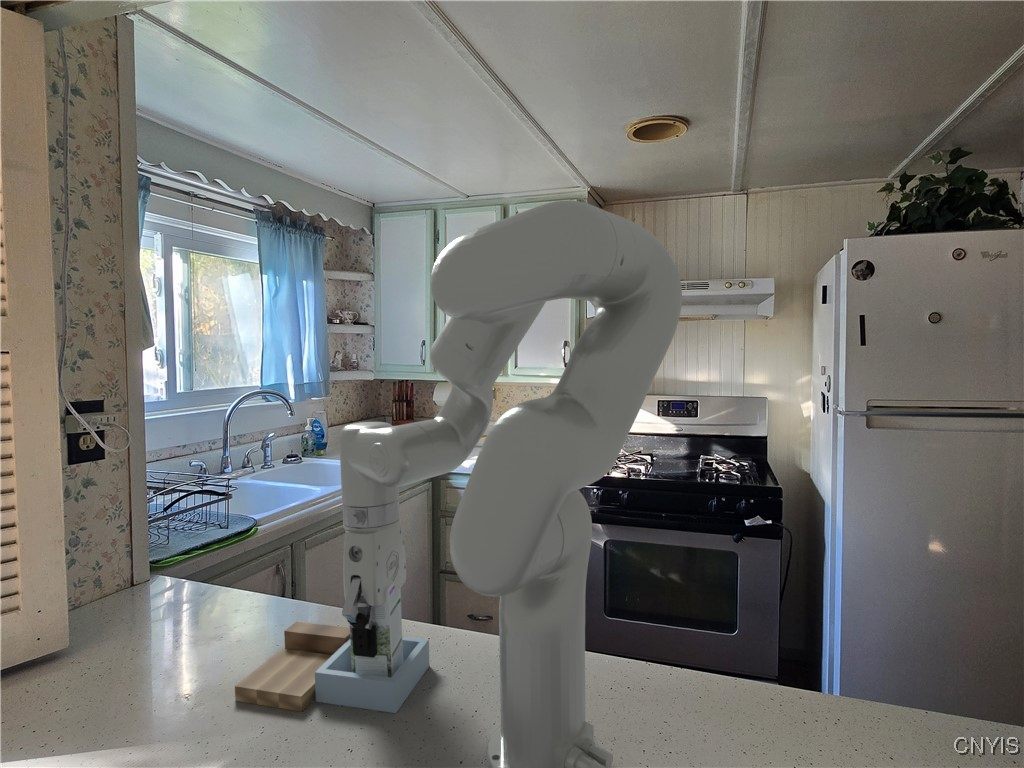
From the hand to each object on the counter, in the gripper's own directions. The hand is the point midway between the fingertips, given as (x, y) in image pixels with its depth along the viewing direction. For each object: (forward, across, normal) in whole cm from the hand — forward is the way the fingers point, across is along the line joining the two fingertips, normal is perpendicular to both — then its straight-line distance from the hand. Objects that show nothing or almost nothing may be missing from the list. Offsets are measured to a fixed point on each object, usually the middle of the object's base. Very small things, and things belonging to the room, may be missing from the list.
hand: (377, 641), depth 81 cm
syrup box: (+6, 0, 0) cm, 6 cm away
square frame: (+6, 0, +1) cm, 6 cm away
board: (+6, -3, +12) cm, 13 cm away
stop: (+6, +4, +12) cm, 14 cm away
